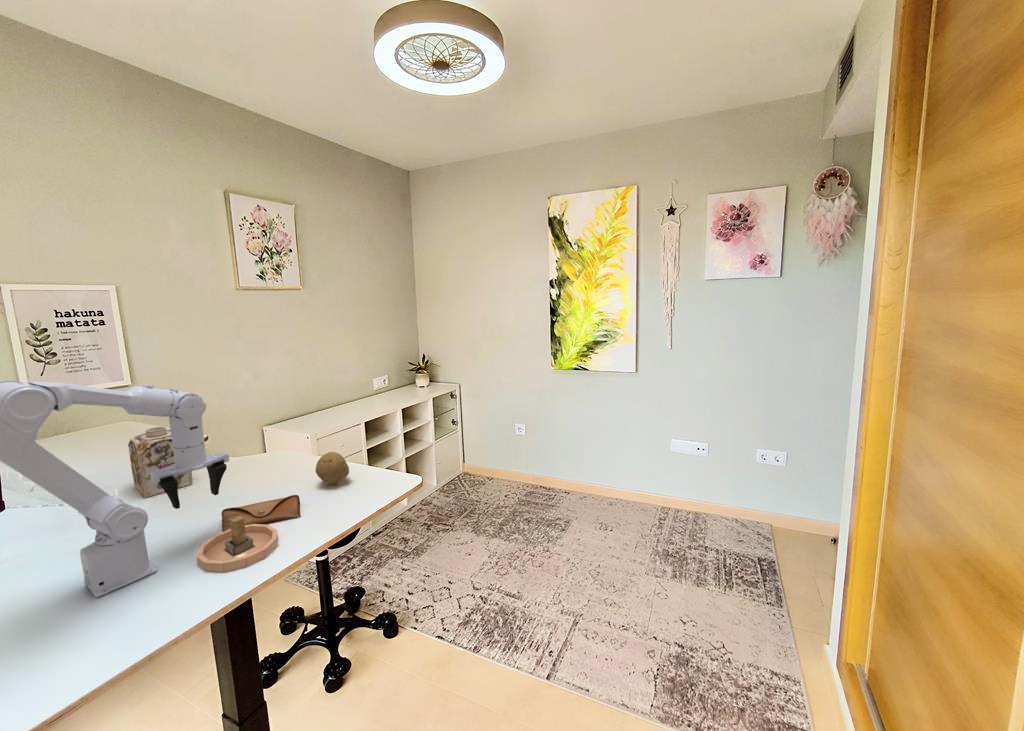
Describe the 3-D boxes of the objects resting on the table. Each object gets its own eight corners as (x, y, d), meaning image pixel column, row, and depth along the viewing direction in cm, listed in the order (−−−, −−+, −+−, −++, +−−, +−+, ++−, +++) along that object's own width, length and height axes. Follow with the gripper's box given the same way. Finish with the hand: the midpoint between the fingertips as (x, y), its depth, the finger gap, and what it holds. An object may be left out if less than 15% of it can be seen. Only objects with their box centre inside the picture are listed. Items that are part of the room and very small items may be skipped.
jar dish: (217, 581, 85) (216, 572, 85) (186, 555, 93) (185, 547, 93) (290, 545, 97) (289, 537, 97) (257, 525, 106) (256, 518, 105)
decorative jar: (144, 499, 118) (134, 437, 115) (133, 487, 125) (124, 429, 122) (195, 484, 128) (187, 427, 125) (182, 474, 135) (175, 419, 132)
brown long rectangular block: (237, 551, 94) (234, 522, 93) (233, 548, 95) (229, 519, 94) (247, 546, 95) (243, 518, 94) (242, 544, 97) (239, 515, 95)
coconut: (312, 482, 129) (309, 451, 127) (341, 474, 135) (339, 444, 133) (322, 493, 122) (319, 460, 121) (352, 484, 128) (350, 453, 127)
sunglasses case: (219, 536, 100) (217, 508, 102) (222, 538, 106) (221, 510, 108) (303, 516, 110) (300, 491, 111) (302, 519, 115) (299, 494, 117)
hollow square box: (233, 557, 92) (232, 549, 92) (223, 549, 95) (222, 542, 94) (255, 546, 96) (254, 539, 96) (245, 540, 98) (244, 533, 98)
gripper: (155, 458, 87) (164, 519, 90) (232, 438, 99) (238, 492, 102) (143, 451, 91) (152, 509, 93) (218, 433, 103) (224, 485, 105)
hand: (196, 500), depth 98 cm, fingers open, 7 cm apart
